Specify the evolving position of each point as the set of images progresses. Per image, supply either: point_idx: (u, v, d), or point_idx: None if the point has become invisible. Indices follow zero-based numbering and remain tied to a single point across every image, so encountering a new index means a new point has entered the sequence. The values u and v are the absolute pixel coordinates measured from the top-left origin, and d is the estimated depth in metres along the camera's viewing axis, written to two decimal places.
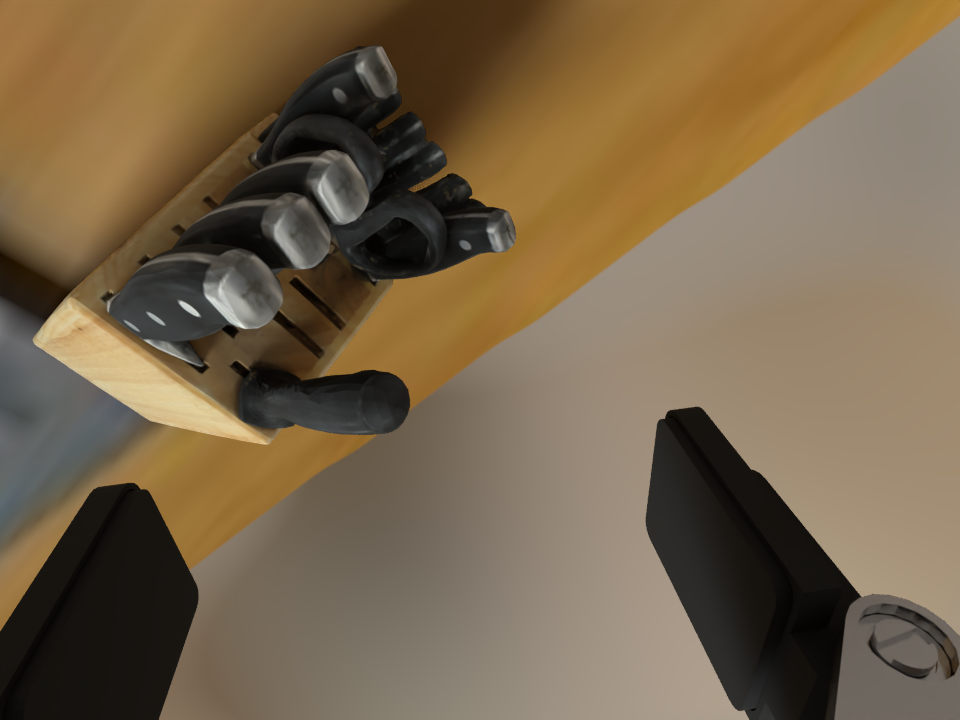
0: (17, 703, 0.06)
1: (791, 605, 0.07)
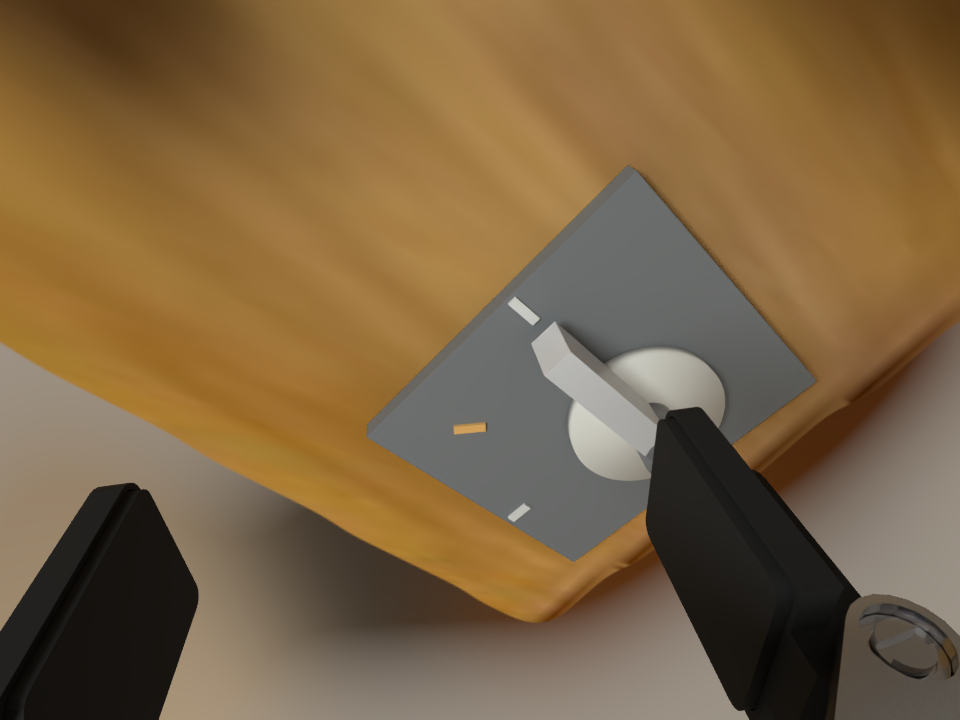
0: (18, 703, 0.06)
1: (791, 605, 0.07)
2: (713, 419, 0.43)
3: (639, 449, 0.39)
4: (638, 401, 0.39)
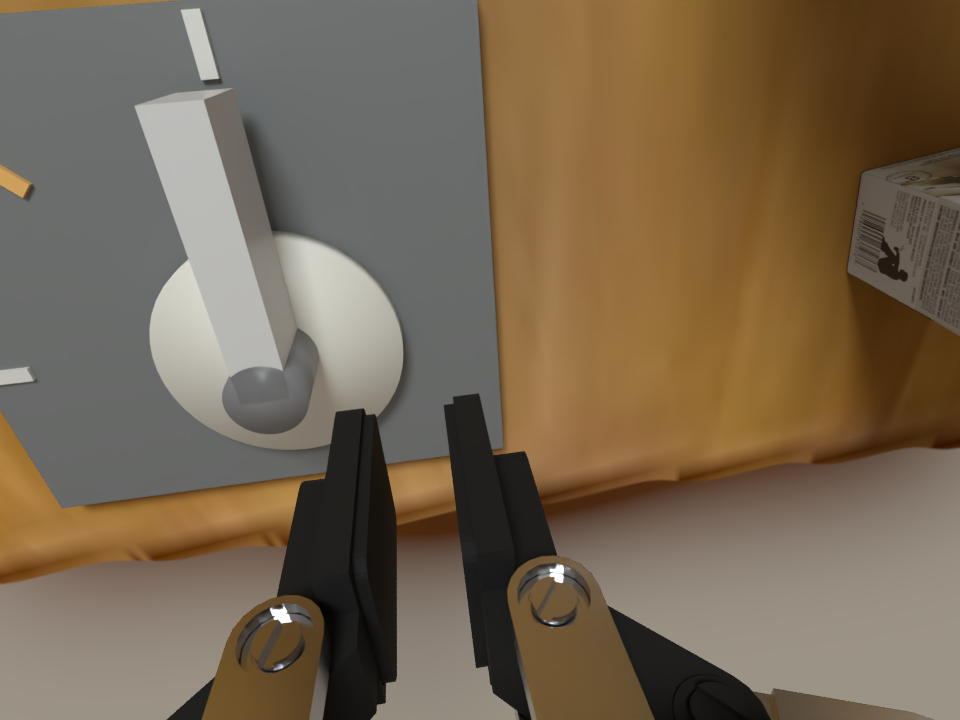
0: (359, 561, 0.08)
1: None
2: (365, 411, 0.30)
3: (227, 358, 0.23)
4: (277, 298, 0.24)
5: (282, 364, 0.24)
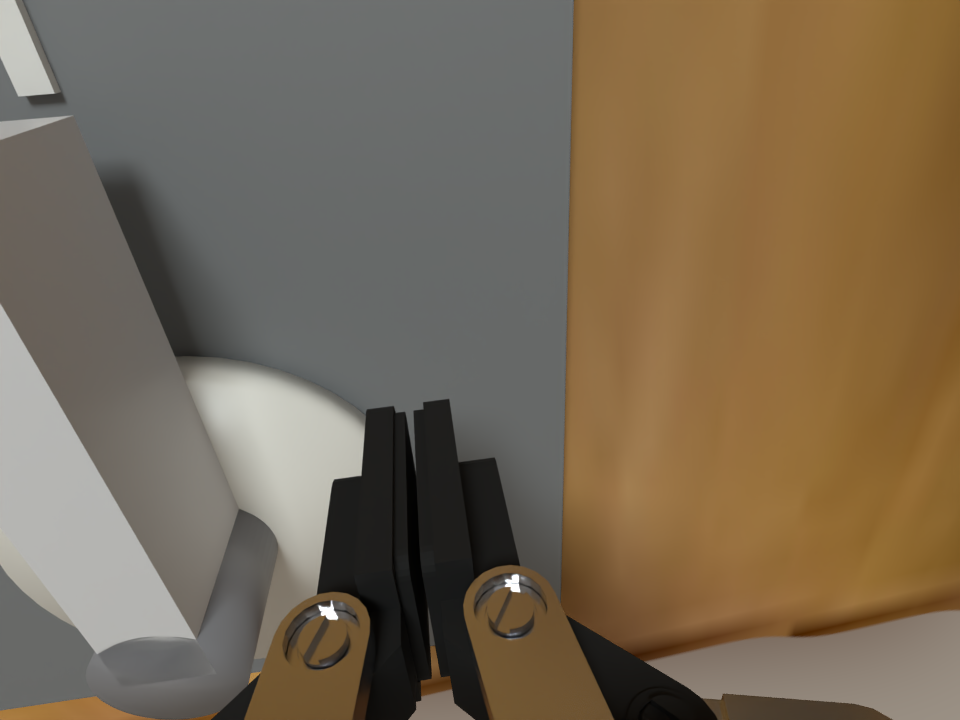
0: (401, 558, 0.08)
1: None
2: None
3: (85, 630, 0.12)
4: (188, 498, 0.13)
5: (194, 628, 0.13)
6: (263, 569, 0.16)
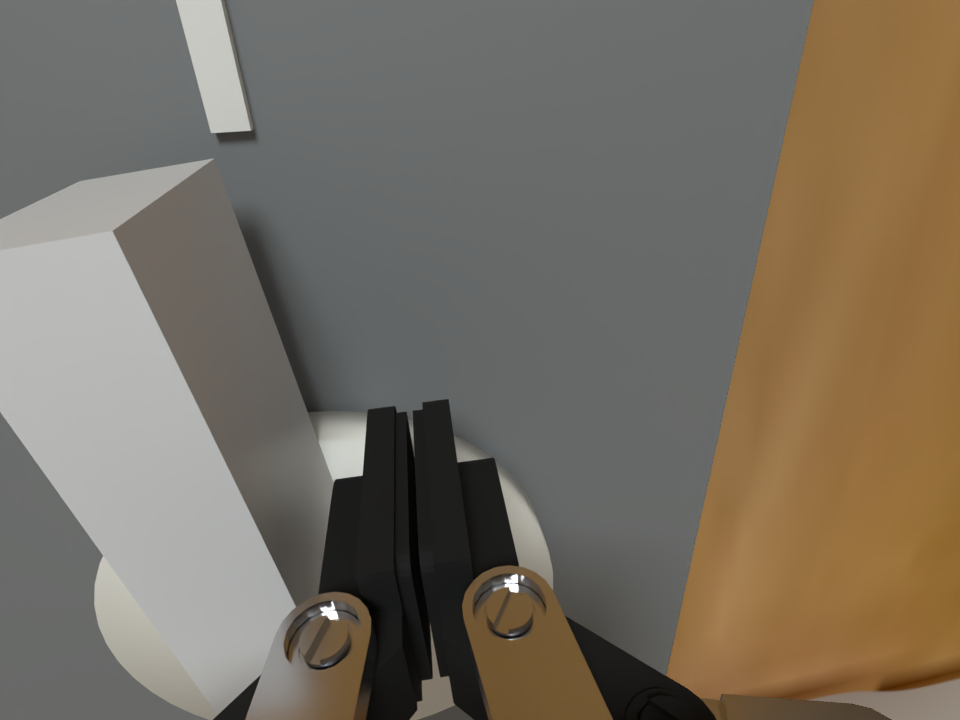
0: (402, 558, 0.08)
1: None
2: None
3: None
4: None
5: None
6: None
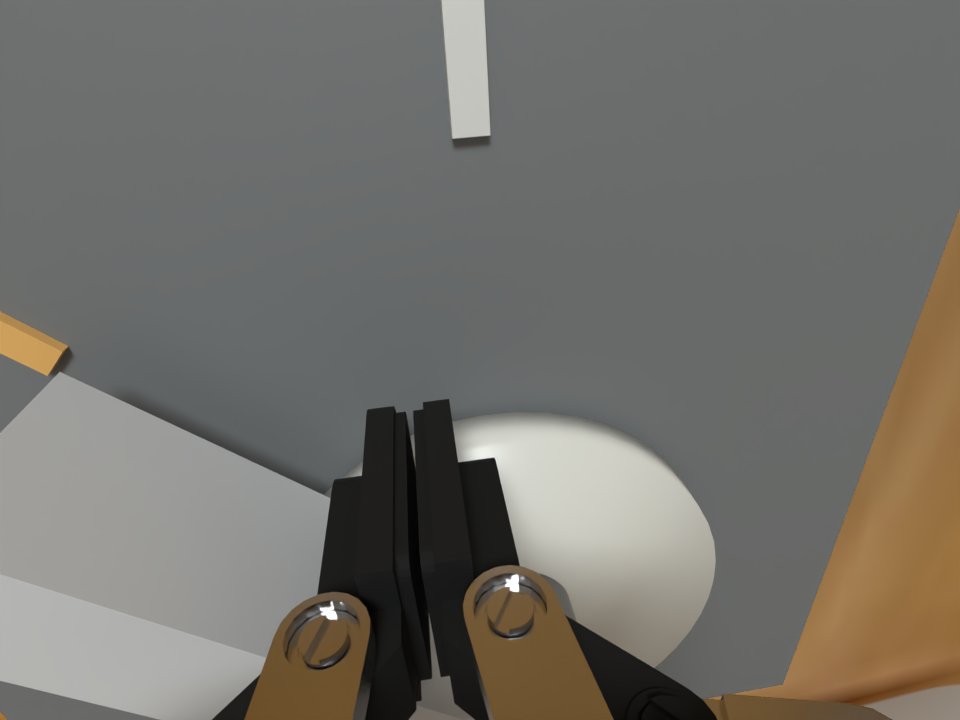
0: (401, 558, 0.08)
1: None
2: (687, 591, 0.16)
3: None
4: None
5: None
6: None
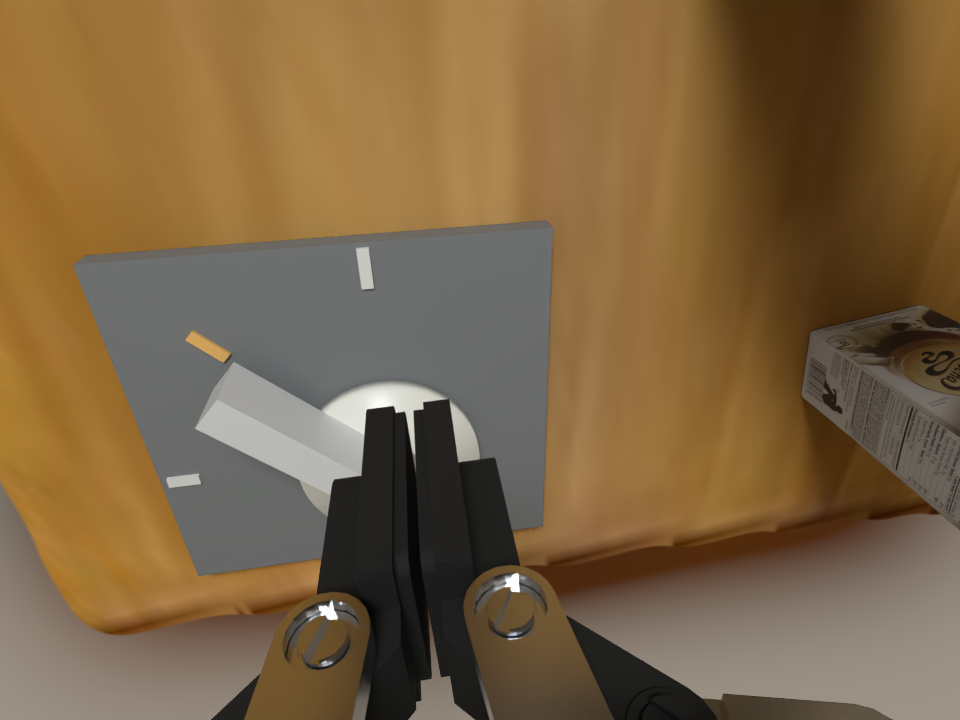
0: (401, 558, 0.08)
1: None
2: (469, 458, 0.38)
3: None
4: (351, 447, 0.34)
5: None
6: None
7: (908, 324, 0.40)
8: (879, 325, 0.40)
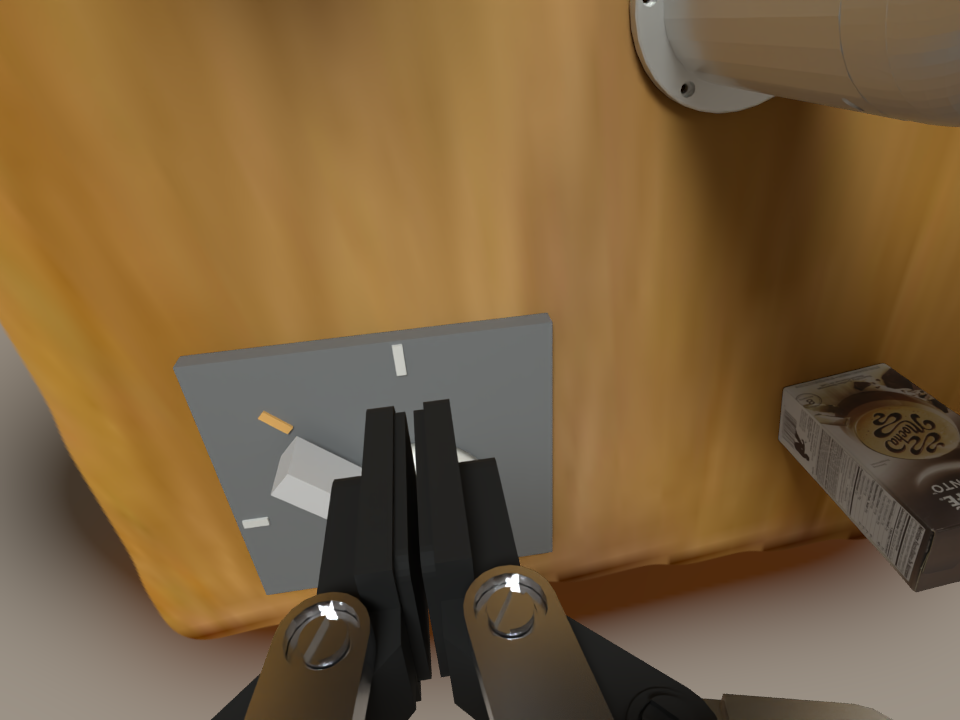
0: (401, 558, 0.08)
1: None
2: None
3: None
4: None
5: None
6: None
7: (868, 384, 0.46)
8: (843, 383, 0.46)
